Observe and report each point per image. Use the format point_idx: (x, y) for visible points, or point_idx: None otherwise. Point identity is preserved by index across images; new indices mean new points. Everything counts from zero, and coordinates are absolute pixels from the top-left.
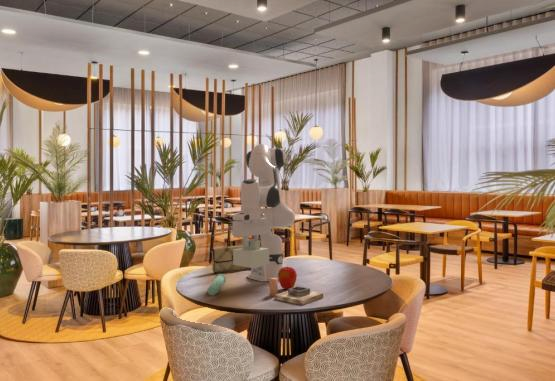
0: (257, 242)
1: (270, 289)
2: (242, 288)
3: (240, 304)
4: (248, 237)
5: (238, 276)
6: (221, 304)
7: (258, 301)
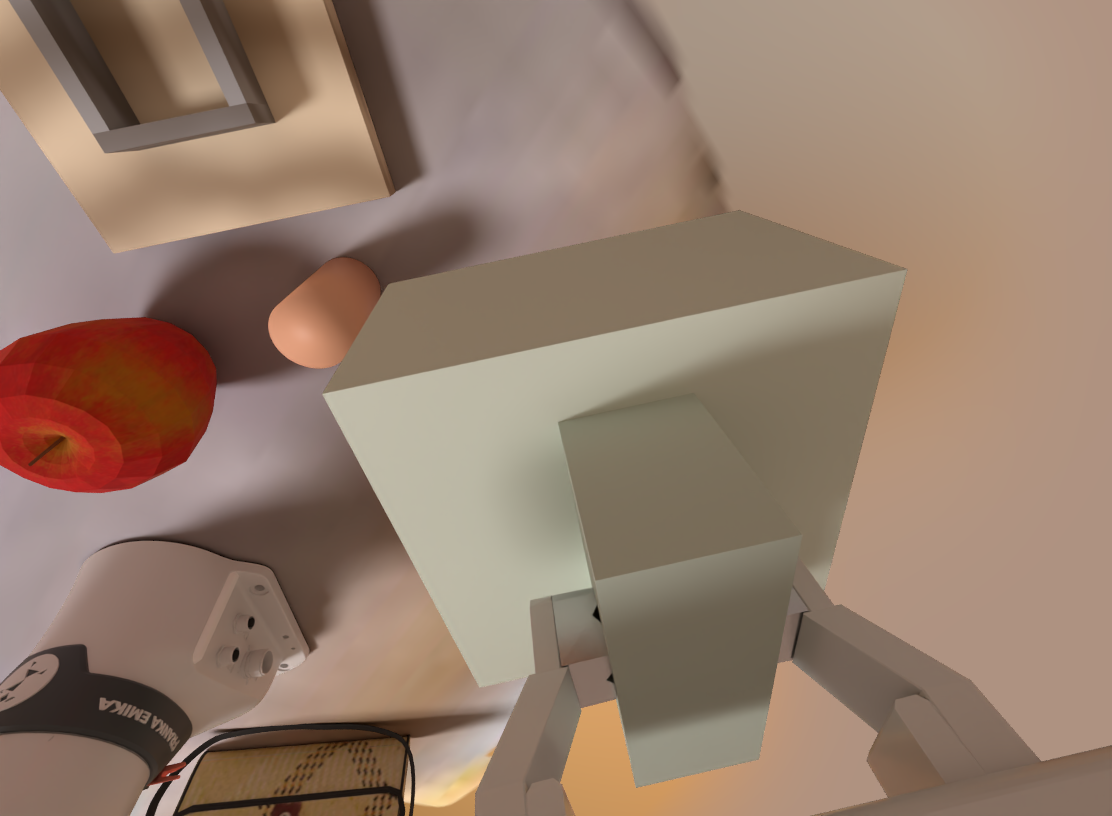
0: (684, 521)
1: (369, 299)
2: None
3: None
4: (914, 738)
5: (336, 674)
6: None
7: (524, 225)
